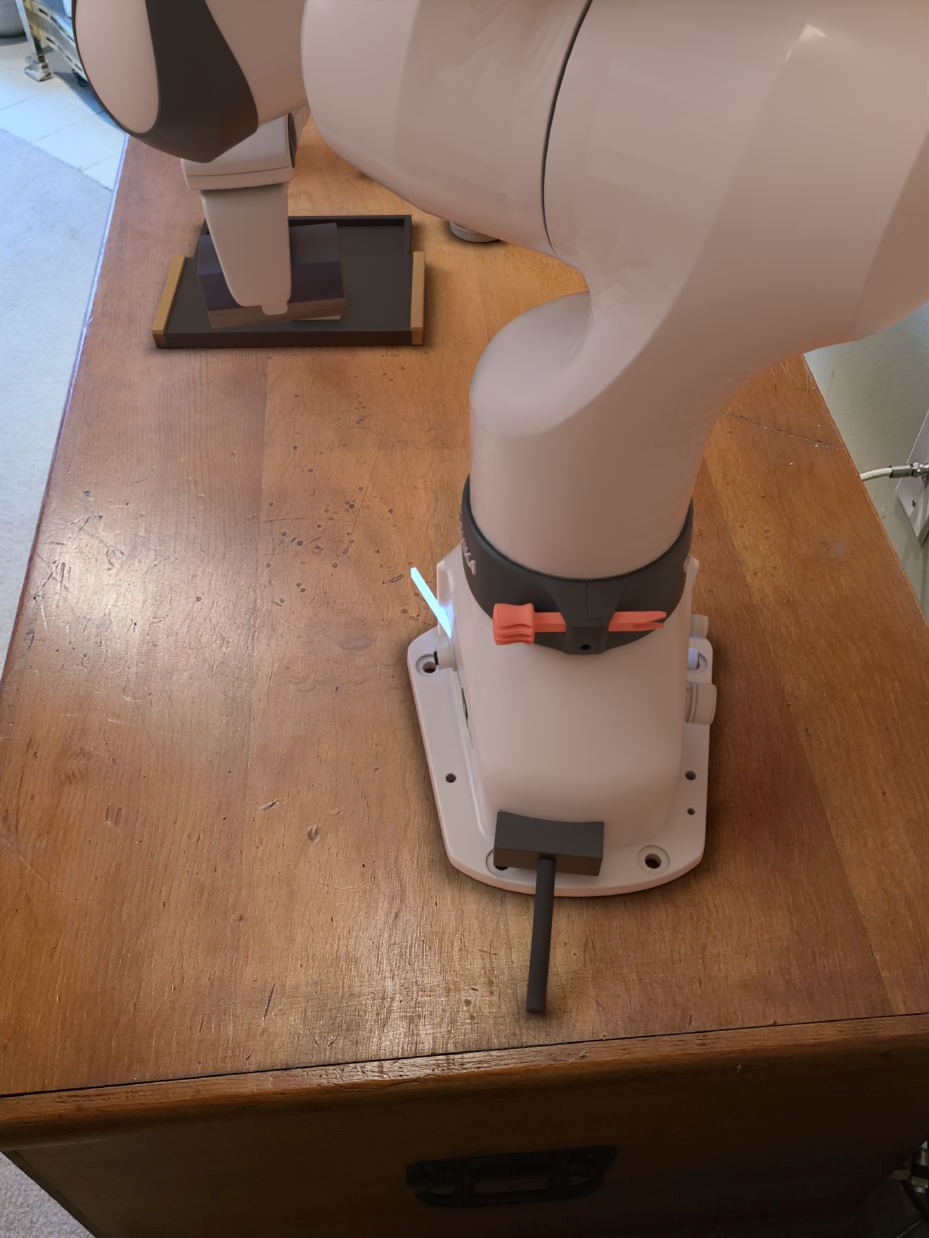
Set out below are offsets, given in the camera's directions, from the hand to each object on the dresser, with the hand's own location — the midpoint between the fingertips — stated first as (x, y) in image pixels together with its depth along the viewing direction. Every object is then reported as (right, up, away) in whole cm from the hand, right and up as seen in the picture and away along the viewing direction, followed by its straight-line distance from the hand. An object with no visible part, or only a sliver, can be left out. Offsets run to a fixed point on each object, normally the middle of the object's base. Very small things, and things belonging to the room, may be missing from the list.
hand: (275, 283), depth 73 cm
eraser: (0, -1, +1) cm, 2 cm away
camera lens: (+15, +12, +19) cm, 27 cm away
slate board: (0, +2, +11) cm, 11 cm away
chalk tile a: (+2, +1, +9) cm, 9 cm away
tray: (0, +9, +17) cm, 19 cm away
